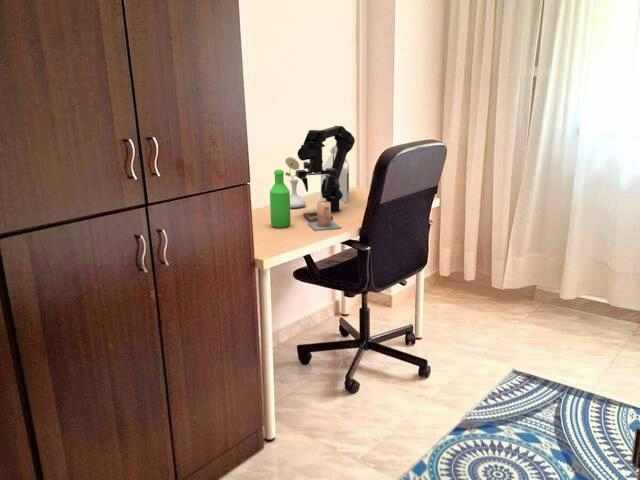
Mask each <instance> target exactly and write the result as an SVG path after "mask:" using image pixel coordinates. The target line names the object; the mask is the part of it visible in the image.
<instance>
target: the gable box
mask: <svg viewBox="0 0 640 480" xmlns="http://www.w3.org/2000/svg"><path fill="white" fill-rule="evenodd" d="M329 151H330V155H329V156H328V157H327V159H326V161H325V163H324V164H323V165H322V169H323V170H326V168H332V165H333V162H334V159H335V156H336V153H337V146H336V144H335V145H334V146H332V147H331V149H330V150H329ZM325 175H327V174H321V175H320V188H321V187H322V186H321V185H322V183H323V180H324V179H326V176H325ZM339 185H340V188H339V190H340V191H341V192H342V194H343V196H342V198H341V199H339V202H346V203H347V202H348V199H349V196H348V195H350V163H349V162H348V160H347V158H345V161H344V164H343V168H342V171H341V174H340V177H339ZM347 198H348V199H347ZM321 201H325V198H323V197H322V193H321V192H320V202H321Z"/></svg>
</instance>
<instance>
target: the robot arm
mask: <svg viewBox="0 0 640 480" xmlns="http://www.w3.org/2000/svg"><path fill="white" fill-rule="evenodd" d="M332 137H333V139H334V140H335V145H336V146H337V153H336V156H335V159H334V162H333V165H332V168H326V170H323V169H322V167H323V163H324V161H323V148H325V144H324V143H325V141H326V140H327V139H329V138H332ZM303 141H304V142H303V144H301V145H300V148H299V149H298V151H297V157H298V160H300V161H304V162H303V169H296V170H295V175H296V176H295V177H296V178H297V179H299V180H301V181H302V183H303V186H304V188H305V191H306V193H308V192H309V187H308V186H309V184H308V178H307V176H316V175H317V176H318V175H319V176H321V174H327V175H325V176H326V179H324V180H323V183H322V185H321V184H320V194H321V193H322V197H323V198H325V201H327V202H331V213H335V212H336V213H337V212H341V209H340V203H339V199H341V198H342V196H343V194H342V192H341V191H340V190H339V188H340V185H339V177H340V174H341V171H342V168H343V164H344V161H345V159H347V154H348V153H349V152H350V151H351V150H352V149H353V147H354V145H355V142H356V139H355V137H354V136H353V134H352V133H351V132H350V131H349V130H348V129H346V128H345V126H343V125H334V126H332V127H328V128H323V129H320V130H319V129H310V130H308V132H307V133H306V137H305V138H304V140H303ZM307 160H308V161H309V162H308V161H307ZM306 170H307V171H306ZM321 186H322V187H321Z"/></svg>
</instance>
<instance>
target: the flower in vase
mask: <svg viewBox="0 0 640 480" xmlns="http://www.w3.org/2000/svg"><path fill="white" fill-rule="evenodd" d="M285 164H286V166H287V167H288V168H289V171H291V169H292V170H293V171H297V170H300V163H299V162H298V160H297V159H295V158H294V157H291V156H287V157H286V158H285ZM289 171H287V172H285V173H284V176H288V177H291V178H290V179H288V181H289V183H290V185H291V193H290V209H293V208H294V209H297V208H301V207H304V206H305V205H306V204H307V202H306V200H304V199H303V198H302V197H301V196H300V195H298V192H297V185H298V182H299V181H300V178H294V177H296V174H294V175H293V176H292V174H291V172H289Z"/></svg>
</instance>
